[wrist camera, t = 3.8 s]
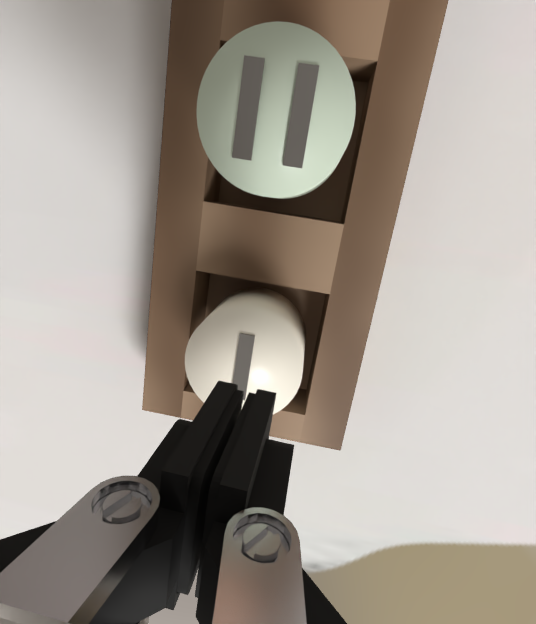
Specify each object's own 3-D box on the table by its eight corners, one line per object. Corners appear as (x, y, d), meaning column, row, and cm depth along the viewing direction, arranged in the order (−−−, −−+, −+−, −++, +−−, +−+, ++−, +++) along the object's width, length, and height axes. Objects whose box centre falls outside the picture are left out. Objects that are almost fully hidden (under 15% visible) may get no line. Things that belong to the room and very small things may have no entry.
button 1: (313, 297, 19) (313, 321, 15) (296, 387, 20) (291, 431, 16) (216, 279, 19) (189, 299, 15) (205, 369, 20) (178, 409, 17)
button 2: (357, 76, 15) (372, 31, 11) (332, 207, 16) (337, 208, 12) (233, 59, 15) (204, 9, 11) (218, 188, 17) (188, 184, 13)
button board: (486, -227, 14) (528, -334, 12) (337, 418, 22) (340, 450, 19) (220, -248, 15) (197, -354, 12) (164, 383, 23) (142, 409, 20)
